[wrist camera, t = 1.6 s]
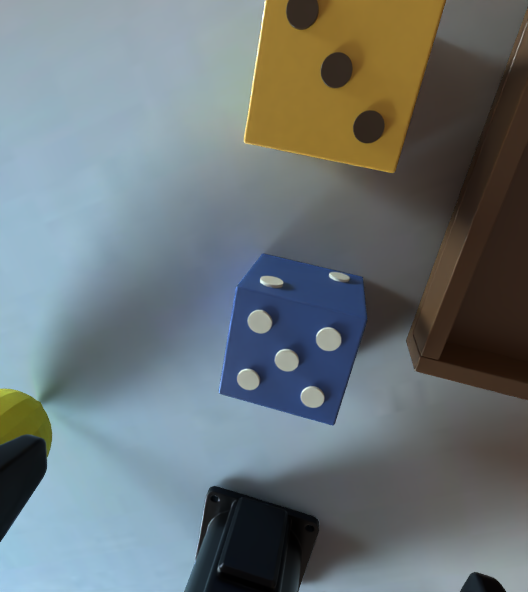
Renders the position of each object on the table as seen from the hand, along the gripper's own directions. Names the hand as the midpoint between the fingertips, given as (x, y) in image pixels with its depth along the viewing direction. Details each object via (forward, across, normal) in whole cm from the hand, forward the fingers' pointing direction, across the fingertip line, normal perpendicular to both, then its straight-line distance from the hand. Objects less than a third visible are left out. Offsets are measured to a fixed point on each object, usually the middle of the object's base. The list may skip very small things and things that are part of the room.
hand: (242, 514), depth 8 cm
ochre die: (+11, 0, -9) cm, 14 cm away
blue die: (+11, 0, 0) cm, 11 cm away
